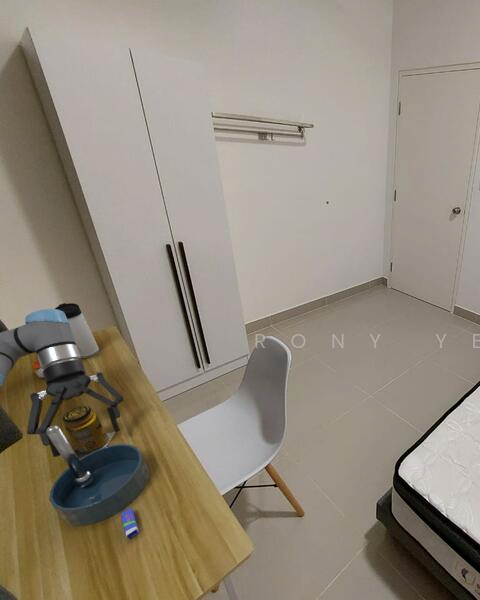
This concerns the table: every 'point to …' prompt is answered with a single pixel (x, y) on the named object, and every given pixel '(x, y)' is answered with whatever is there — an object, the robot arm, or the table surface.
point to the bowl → (101, 485)
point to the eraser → (129, 523)
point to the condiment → (85, 430)
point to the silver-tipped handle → (70, 457)
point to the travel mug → (80, 330)
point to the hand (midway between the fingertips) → (88, 442)
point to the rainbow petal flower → (38, 368)
